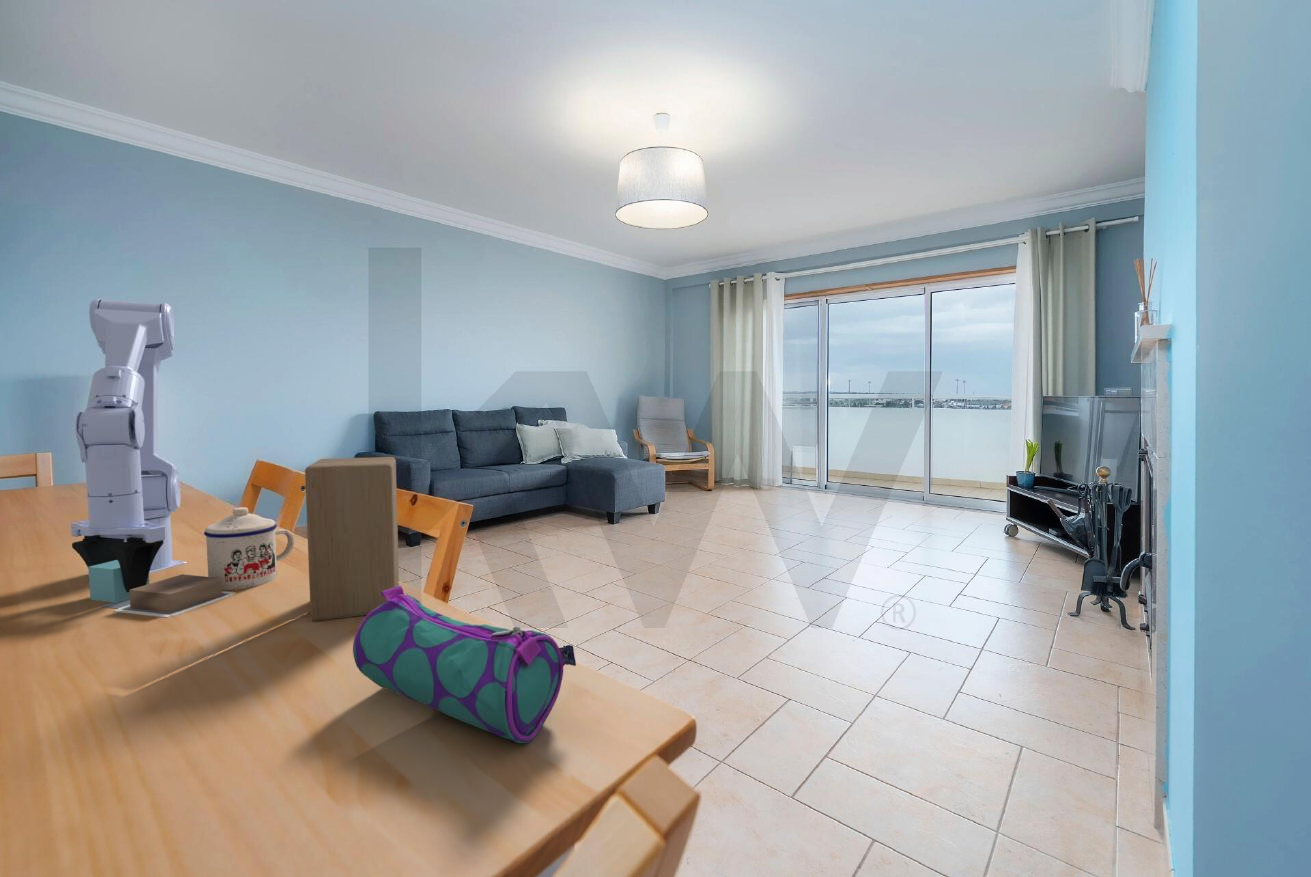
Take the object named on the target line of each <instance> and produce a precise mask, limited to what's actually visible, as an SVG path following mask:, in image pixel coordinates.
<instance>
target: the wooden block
mask: <svg viewBox="0 0 1311 877" xmlns="http://www.w3.org/2000/svg"><path fill="white" fill-rule="evenodd" d="M304 480H305V481H304V482H305V500H306V501H305V504H306V506H305V507H306V528H307V532H306V533H307V553H308V554H307V555H308V558H307V559H308V580H309V603H310V604H309V606H310V607H309V608H310V610H309V611H310V619H311V620H312V621H322V620H323V621H325V620H333V619H335V620H336V619H343V618H350V617H361V616H367V615H368V614H369V613H370V612H371V611H372V610H374V609H375V608H377V607H378V606H380V605H382V604H384V603H386V602H387V600H386V599H385V598H384V597H383V596H382V593H381V592H382V591H385V590H388V589H391V588H394V587H397V586H400V574H399V573H400V571H399V570H400V569H399V538H398V537H399V534H398V532H399V531H398V530H399V529H398V527H399V526H398V498H397V490H398V489H397V460H396V458H395V457H393V456H378V457H377V456H375V457H346V458H345V457H343V458H339V457H338V458H321V459H319V460H317V461H315V462H313V463H312V464H310V465H308V466H307V467H306V468H305V470H304ZM398 582H399V583H398Z"/></svg>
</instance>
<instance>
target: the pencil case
mask: <svg viewBox="0 0 1311 877" xmlns="http://www.w3.org/2000/svg"><path fill="white" fill-rule="evenodd" d="M404 592H405V591H404V589H403V587H402V585H399V586H397V587H394V588H391V589H388V590H385V591H382V592H381V593H382V596H383V597H384V598H385V599H386V600H387V602H386V603H384V604H382V605H380V606H378V607H377V608H375V609H374V610H372V611H371V612H370V613H369V614H368V615H365V617H364V618H363V620H362V622H361V623H360V625H359V627H358V628H357V631H356V634H355V635H354V638H353V642H352V643H353V644H352V656H353V659H354V664H355V665H356V667H357V669H358V670H359V672H360V673H361V674H363V676H364V677H366V678H367V679H369V680H370V681H371V682H373V683H374V684H375V685H377V686H379V687H380V688H383V689H385V690H388V691H391V692H393V693H395V694H397V695H400V696H403V697H404V698H407V699H410V700H412V701H415V702H418V703H420V704H424V705H425V706H427V707H430V708H432V709H434V710H436V711H438V712H439V713H443V714H445V715H447V716H449V717H450V718H453V719H455V720H458V721H461V722H463V723H465V724H468V725H471V726H473V727H475V728H478V729H480V730H482V731H485V732H487V733H491V734H494V735H495V736H498V737H500V738H503V739H506V740H510V741H513V742H515V743H517V744H528V743H531V741H533V740H534V738H535V737H536V736H537V735H538V733H539V732H540V731H541V728H543V725H544V724H545V722H546V720H547V718H548V717H549V716H550V714H551V711H552V710H553V709H554V708H553V707H555V704H556V702H557V700H558V696H559V694H560V690H561V687H562V681H563V677H564V666H565V665H566V666H567V665H569V666H574V667H576V665H577V663H576V662H577V661H576V655H575V651H574V646H573V645H572V644H568V645H563V646H562V647H559V645H558V643H557V642H556V641H555V640H554V638H552V636H550V635H549V634H548V633H547V634H546V633H544V632H539V631H535V630H533V629H532V630H523V629H521V627H519V626H515V627H512V629H508V628H504V627H498V626H492V625H489V624H485V623H484V624H471V623H468V622H467V623H466V622H464V621H460V620H457V619H453V618H451V617H450V616H447V615H443V614H441V613H439V612H436V611H434V610H431V609H430V608H428V607H426V606H424V605H423V604H422V603H421V601H420V600H418V599H416V597H414V596H412V595H410V594H405V593H404Z"/></svg>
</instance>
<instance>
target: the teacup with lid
mask: <svg viewBox="0 0 1311 877" xmlns="http://www.w3.org/2000/svg"><path fill="white" fill-rule="evenodd" d="M276 523H277V522H276V521H275V520H274V519H271V518H265V517H262V516H260V515H258V514H255V513H249V508H248V507H245V506H244V507H235V508H233V510H232V513H231V515H228V516H225V517H223V518H222V519H221V520H219V521H218V522H215V523H211V524H209V525H208V526H206V528H205V529H204V532H203V535H204V536H205V537H206V538H205V540H206V541H205V542H206V558H207V559H206V560H207V577H215V578H221V586H222V591H231V590H232V591H234V590H235V591H236V590H242V589H249V588H253V587H254V588H255V587H259V586H263V585H265V584H268V583H271V582H272V581H273V582H274V580H276V579H277V578H278V566H277V565H278V564H277V562H279V561H282V560H284V559H286V558H287V557H289V555H290V554H291V553H292V551H293V549H294V547H295V535H294V534H293V533H292V532H291V531H290V530H288V529H283V528H282V529H281V528H279V529H277V527H278V526H277V525H278V524H276ZM278 535H284V536H286V537H287V538H286V539H287V544H286V546H285V549H284V550H283V551H282V552H281V553H280V554H279V555H277V545H276V544H277V543H276V536H278Z"/></svg>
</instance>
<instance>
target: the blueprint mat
mask: <svg viewBox="0 0 1311 877" xmlns="http://www.w3.org/2000/svg"><path fill="white" fill-rule="evenodd" d="M235 594H237V592H234V591H227V590H222V595H221V596H218V597H216V598H213V599H210V600H207V601H204V602H201V603H198V604H196V605H193V606H190V607H187V608H184V609H181V610H179V611H176V612H173V613H168V612H159V611H151V610H142V609H133V608H130V598H127V599H123V600H120V601H117V602H109V603H107V604H104V605H101V606H100V608H106V609H107V608H109V609H114V610H113V612H118V613H125V614H132V615H133V614H134V615H142V616H150V617H158V618H159V617H160V618H166V619H168V618H171V617H175V616H178V615H179V616H180V615H181V614H183V613H184V614H185V613H186V612H189V611H193V610H196V609H198V608H200V607H203V606H206V605H210V604H212V603H215V602H218V601H220V600H223V599H226V598H229V597H231V596H234V595H235Z"/></svg>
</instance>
